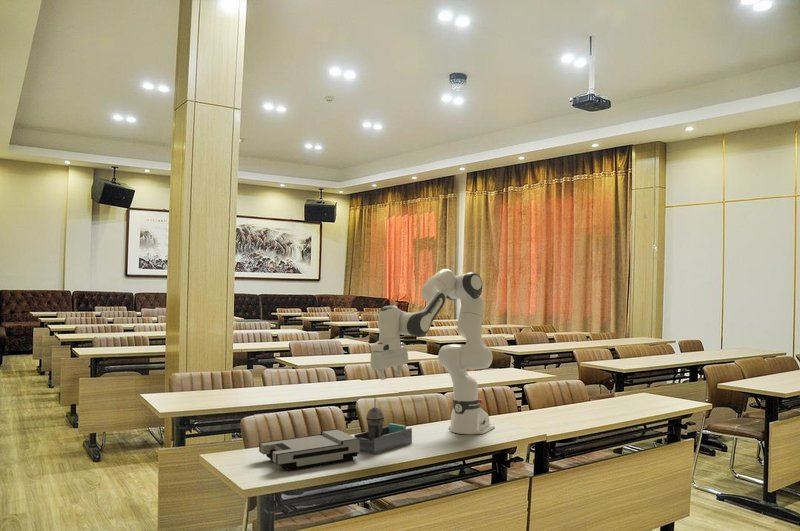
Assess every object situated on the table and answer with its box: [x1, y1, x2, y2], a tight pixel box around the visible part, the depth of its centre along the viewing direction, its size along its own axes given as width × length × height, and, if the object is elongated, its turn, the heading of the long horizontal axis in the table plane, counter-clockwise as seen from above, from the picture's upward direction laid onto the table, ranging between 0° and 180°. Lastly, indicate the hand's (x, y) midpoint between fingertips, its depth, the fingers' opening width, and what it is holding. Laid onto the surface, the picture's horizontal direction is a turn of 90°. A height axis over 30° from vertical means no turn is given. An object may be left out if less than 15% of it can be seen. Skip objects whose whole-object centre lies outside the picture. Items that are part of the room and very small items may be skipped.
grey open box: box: [353, 425, 413, 455], centre depth 246 cm, size 23×11×6 cm, turn 139°
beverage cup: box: [365, 396, 385, 440], centre depth 241 cm, size 7×7×20 cm
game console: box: [258, 428, 361, 472], centre depth 226 cm, size 21×32×8 cm, turn 121°
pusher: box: [388, 422, 407, 434], centre depth 253 cm, size 2×8×6 cm, turn 49°
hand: (390, 377), depth 250 cm, fingers open, 8 cm apart
